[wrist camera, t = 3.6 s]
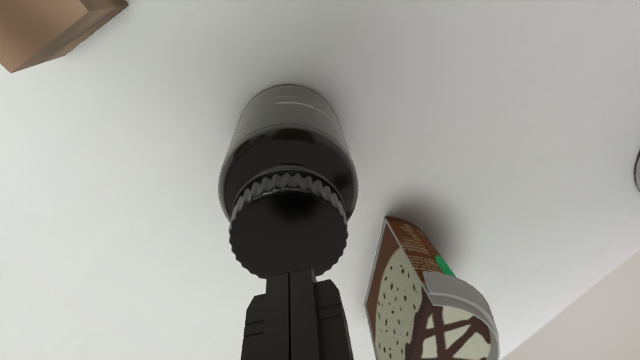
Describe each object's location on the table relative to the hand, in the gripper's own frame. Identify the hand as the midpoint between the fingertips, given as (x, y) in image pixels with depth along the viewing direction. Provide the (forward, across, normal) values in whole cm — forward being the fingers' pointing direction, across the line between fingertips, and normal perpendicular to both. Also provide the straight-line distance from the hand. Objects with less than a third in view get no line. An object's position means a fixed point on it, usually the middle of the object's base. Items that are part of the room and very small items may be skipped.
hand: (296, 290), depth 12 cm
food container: (+15, -7, +14) cm, 22 cm away
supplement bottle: (+15, 0, 0) cm, 15 cm away
